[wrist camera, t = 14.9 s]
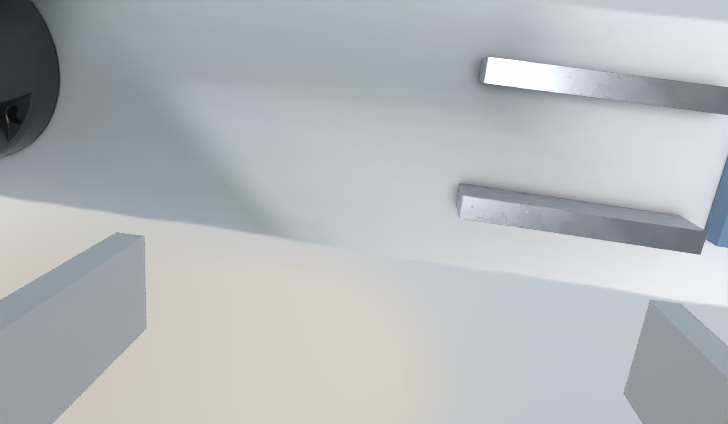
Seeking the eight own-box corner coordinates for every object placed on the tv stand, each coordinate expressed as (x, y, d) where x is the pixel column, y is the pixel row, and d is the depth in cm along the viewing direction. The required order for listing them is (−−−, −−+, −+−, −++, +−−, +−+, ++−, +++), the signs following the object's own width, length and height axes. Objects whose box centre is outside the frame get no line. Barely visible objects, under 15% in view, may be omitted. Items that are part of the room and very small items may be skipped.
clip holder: (456, 203, 40) (459, 218, 36) (482, 58, 37) (488, 57, 33) (673, 236, 39) (700, 254, 35) (717, 88, 36) (753, 90, 32)
